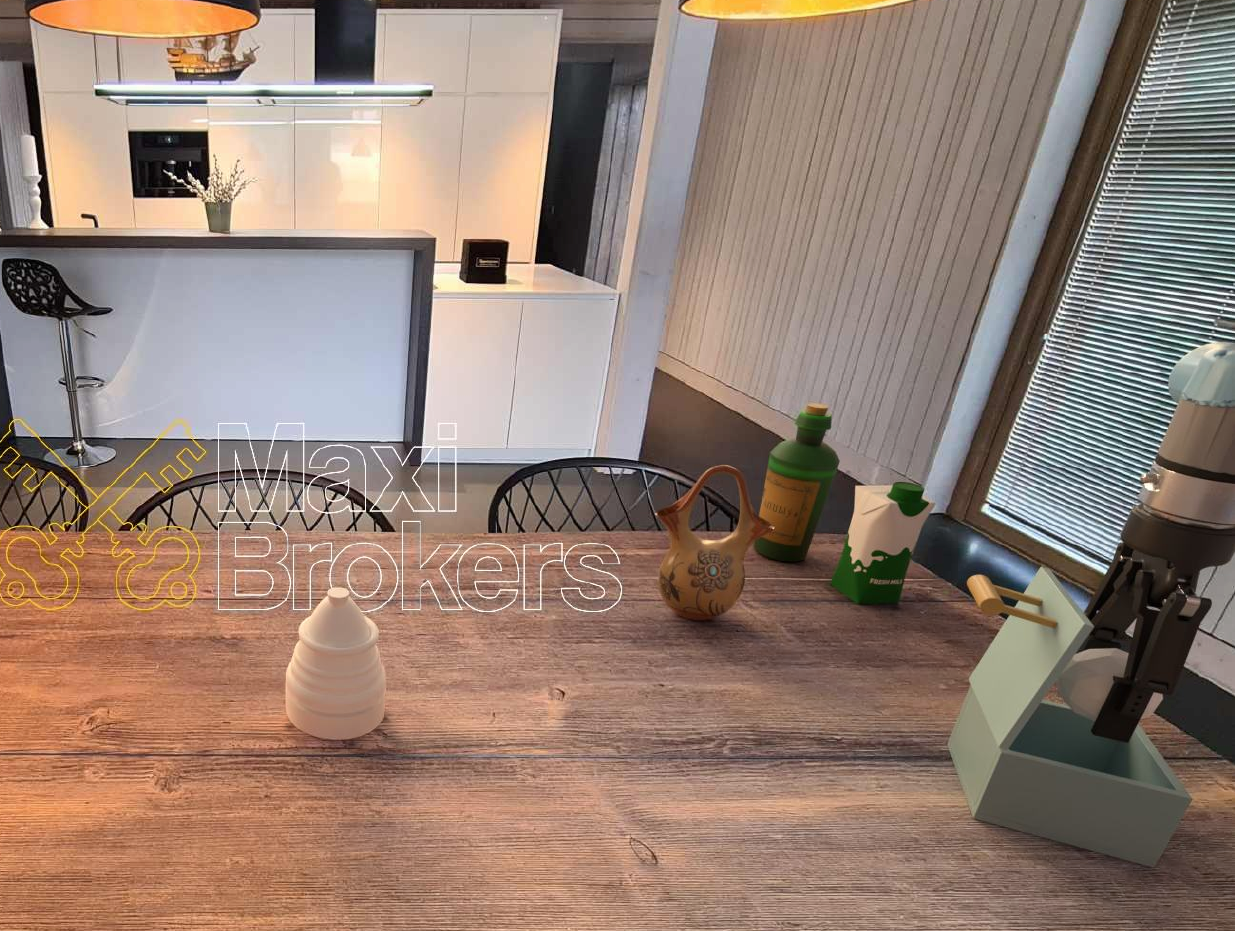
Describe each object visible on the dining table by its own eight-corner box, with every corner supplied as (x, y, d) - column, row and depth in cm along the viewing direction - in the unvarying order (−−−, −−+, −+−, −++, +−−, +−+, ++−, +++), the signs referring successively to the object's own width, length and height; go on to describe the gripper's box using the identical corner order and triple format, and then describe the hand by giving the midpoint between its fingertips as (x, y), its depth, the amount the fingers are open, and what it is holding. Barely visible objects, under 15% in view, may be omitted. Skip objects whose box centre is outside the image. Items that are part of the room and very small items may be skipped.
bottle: (734, 542, 152) (768, 398, 141) (787, 540, 154) (825, 397, 143) (770, 567, 143) (810, 414, 132) (826, 565, 144) (870, 413, 133)
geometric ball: (1090, 729, 87) (1155, 678, 85) (1131, 749, 79) (1204, 694, 77) (1023, 678, 89) (1085, 627, 87) (1057, 693, 82) (1126, 637, 80)
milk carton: (856, 607, 130) (892, 492, 122) (820, 581, 138) (852, 471, 130) (908, 606, 130) (947, 491, 122) (869, 580, 138) (904, 471, 131)
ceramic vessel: (639, 620, 125) (669, 469, 116) (635, 594, 133) (662, 450, 124) (755, 637, 121) (796, 481, 111) (744, 609, 129) (781, 461, 119)
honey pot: (386, 742, 98) (394, 613, 91) (281, 737, 99) (281, 609, 91) (383, 681, 110) (389, 562, 103) (289, 677, 110) (289, 559, 103)
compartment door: (1049, 568, 88) (971, 546, 90) (1094, 626, 76) (1003, 599, 79) (976, 681, 95) (905, 658, 97) (1007, 750, 83) (926, 721, 86)
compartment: (1104, 783, 92) (1136, 719, 89) (1154, 868, 81) (1193, 799, 77) (946, 744, 98) (970, 683, 95) (972, 818, 87) (1001, 752, 84)
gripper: (1098, 474, 86) (1021, 656, 95) (1185, 547, 69) (1081, 761, 78) (1192, 486, 83) (1104, 673, 92) (1308, 566, 66) (1186, 786, 74)
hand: (1094, 713), depth 85 cm, fingers closed on geometric ball, 8 cm apart
